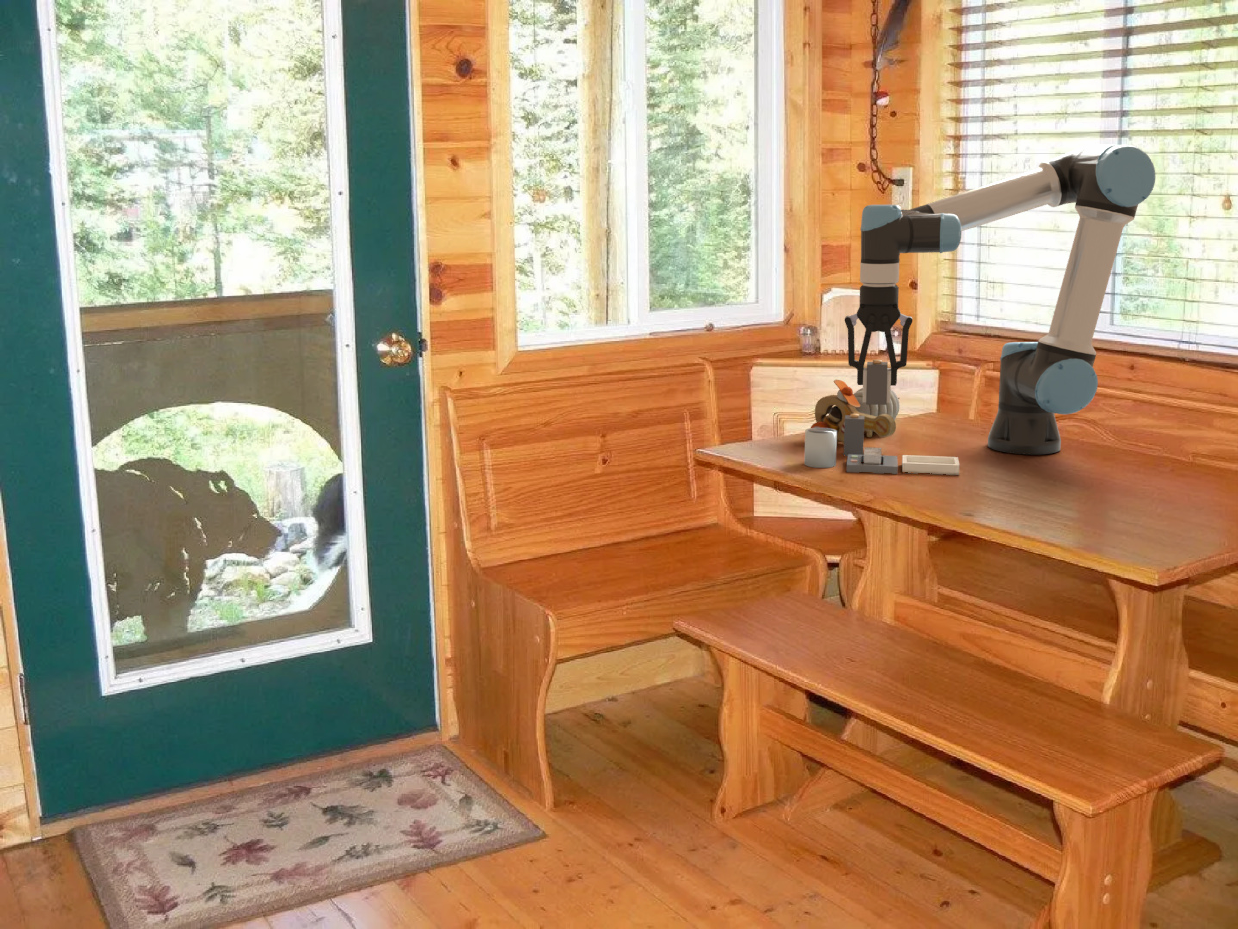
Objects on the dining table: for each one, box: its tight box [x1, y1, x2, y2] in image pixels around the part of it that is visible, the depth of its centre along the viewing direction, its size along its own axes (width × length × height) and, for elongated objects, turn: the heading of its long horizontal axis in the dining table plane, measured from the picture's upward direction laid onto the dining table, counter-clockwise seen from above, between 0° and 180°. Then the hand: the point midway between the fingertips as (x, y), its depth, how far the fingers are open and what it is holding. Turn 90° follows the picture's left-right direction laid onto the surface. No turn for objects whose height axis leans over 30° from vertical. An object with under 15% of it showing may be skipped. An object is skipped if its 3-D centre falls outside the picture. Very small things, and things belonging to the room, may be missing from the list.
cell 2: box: [866, 359, 889, 405], centre depth 282 cm, size 4×4×9 cm
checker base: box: [846, 454, 899, 475], centre depth 286 cm, size 10×10×2 cm
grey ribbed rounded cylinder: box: [853, 387, 900, 438], centre depth 318 cm, size 11×17×11 cm, turn 135°
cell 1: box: [843, 414, 865, 457], centre depth 298 cm, size 4×4×9 cm
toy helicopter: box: [810, 379, 897, 444], centre depth 305 cm, size 8×21×14 cm, turn 43°
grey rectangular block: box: [863, 446, 882, 465], centre depth 286 cm, size 3×7×2 cm, turn 170°
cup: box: [803, 427, 838, 469], centre depth 288 cm, size 6×6×7 cm
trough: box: [901, 454, 960, 476], centre depth 284 cm, size 11×8×2 cm
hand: (876, 401), depth 283 cm, fingers closed on cell 2, 4 cm apart
